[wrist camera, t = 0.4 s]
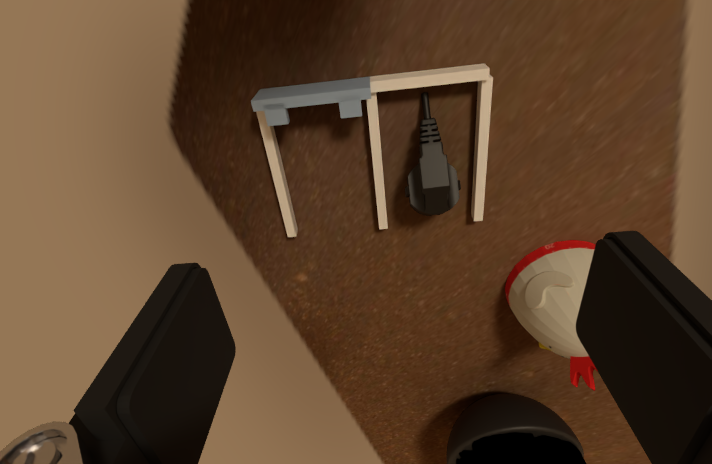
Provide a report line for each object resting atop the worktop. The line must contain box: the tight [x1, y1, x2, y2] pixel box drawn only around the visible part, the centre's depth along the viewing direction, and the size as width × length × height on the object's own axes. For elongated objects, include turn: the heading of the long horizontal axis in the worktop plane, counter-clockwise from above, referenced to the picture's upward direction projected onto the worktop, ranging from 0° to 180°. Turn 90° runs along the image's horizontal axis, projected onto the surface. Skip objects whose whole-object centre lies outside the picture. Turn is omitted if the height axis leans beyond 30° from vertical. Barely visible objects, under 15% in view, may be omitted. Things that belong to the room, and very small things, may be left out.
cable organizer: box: [251, 64, 493, 237], centre depth 43 cm, size 17×23×4 cm
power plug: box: [405, 93, 461, 216], centre depth 43 cm, size 6×8×12 cm
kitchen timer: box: [505, 240, 599, 391], centre depth 48 cm, size 14×14×15 cm
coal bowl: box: [447, 394, 586, 464], centre depth 62 cm, size 20×20×19 cm
